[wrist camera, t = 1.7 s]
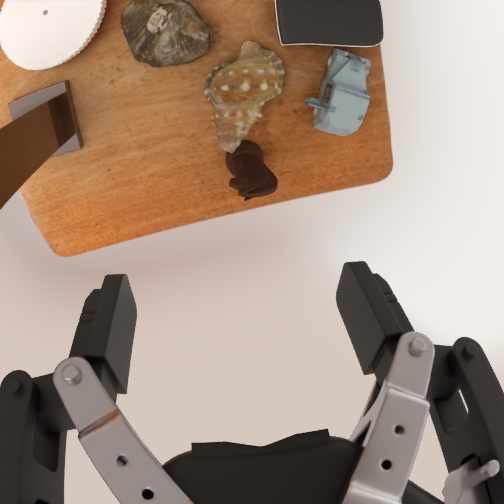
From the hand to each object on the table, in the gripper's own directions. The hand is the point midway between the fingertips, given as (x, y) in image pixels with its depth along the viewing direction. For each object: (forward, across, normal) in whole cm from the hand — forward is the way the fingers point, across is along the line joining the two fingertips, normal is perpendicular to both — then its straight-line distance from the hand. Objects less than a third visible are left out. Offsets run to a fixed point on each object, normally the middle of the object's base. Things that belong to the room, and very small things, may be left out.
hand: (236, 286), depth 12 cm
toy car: (+29, -13, -3) cm, 32 cm away
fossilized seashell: (+29, +6, -10) cm, 31 cm away
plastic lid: (+29, +19, -15) cm, 38 cm away
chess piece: (+29, -4, +6) cm, 30 cm away
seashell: (+29, -3, -2) cm, 29 cm away
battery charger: (+27, -6, -11) cm, 30 cm away
